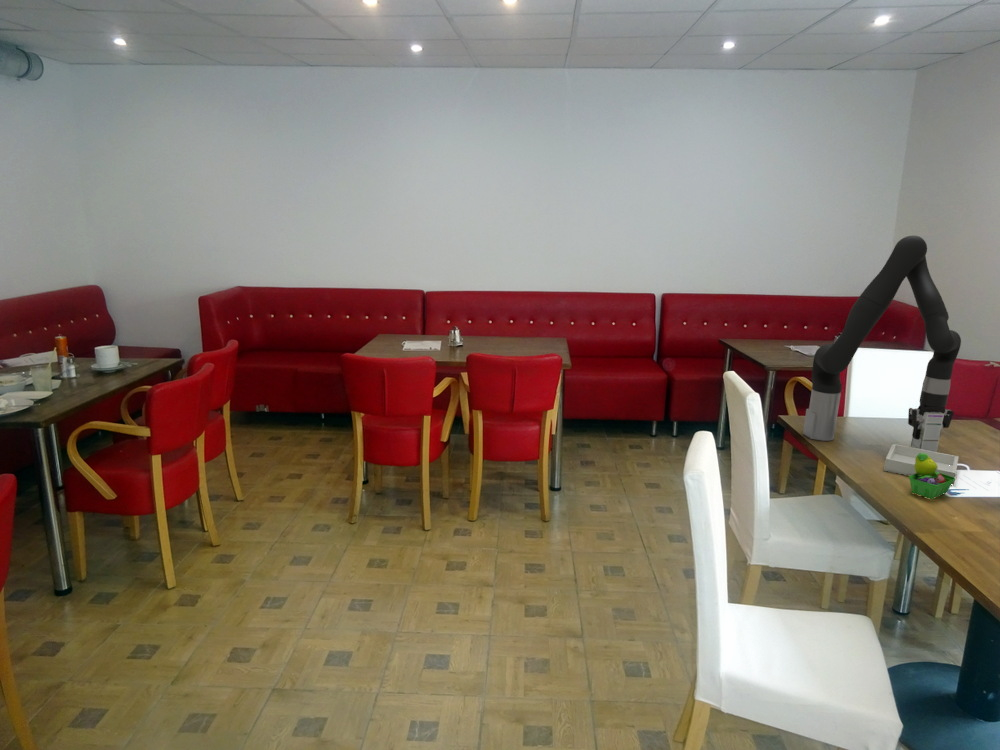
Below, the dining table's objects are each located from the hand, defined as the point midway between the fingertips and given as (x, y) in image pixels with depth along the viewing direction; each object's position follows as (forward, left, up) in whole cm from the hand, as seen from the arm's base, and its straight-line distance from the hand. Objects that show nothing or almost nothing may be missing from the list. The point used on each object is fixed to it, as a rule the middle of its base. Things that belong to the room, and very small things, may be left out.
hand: (925, 438), depth 217 cm
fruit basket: (-21, -33, -5) cm, 39 cm away
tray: (-11, -15, -5) cm, 19 cm away
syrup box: (0, 0, -5) cm, 5 cm away
